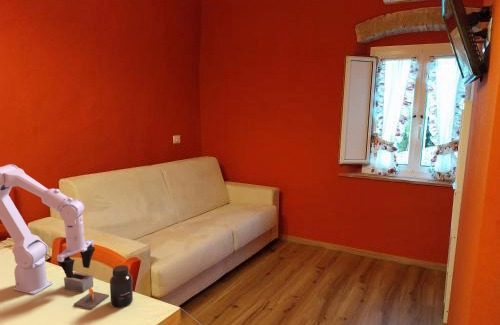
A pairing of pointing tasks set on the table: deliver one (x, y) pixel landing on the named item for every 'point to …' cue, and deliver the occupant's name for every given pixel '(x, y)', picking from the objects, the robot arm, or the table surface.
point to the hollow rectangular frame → (79, 282)
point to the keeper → (91, 299)
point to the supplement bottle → (121, 287)
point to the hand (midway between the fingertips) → (78, 272)
